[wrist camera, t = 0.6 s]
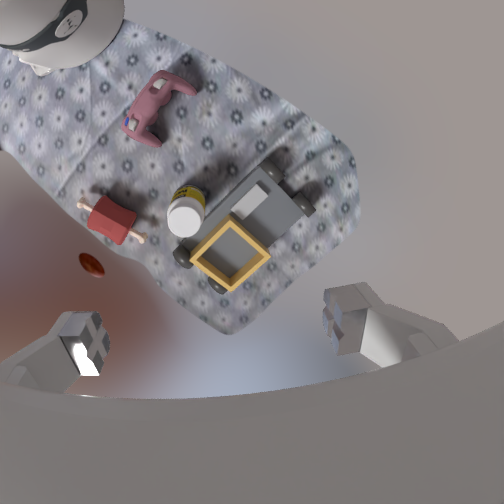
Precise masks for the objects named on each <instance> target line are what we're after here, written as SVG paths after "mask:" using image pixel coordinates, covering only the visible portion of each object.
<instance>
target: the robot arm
mask: <svg viewBox="0 0 504 504" xmlns="http://www.w3.org/2000/svg"><path fill="white" fill-rule="evenodd" d="M123 17H124V0H0V46H1V47H3V48H6V49H7V50H10V51H13V54H14V55H15V56H19V57H20V59H19V61H21V62H23V63H27V64H30V65H31V67H32V69H33V70H34V72H35V73H36V74H37V75H39V76H45V75H47V74H49V73H51V72H53V71H55V70H57V69H65V68H72V67H76V66H79V65H82V64H84V63H86V62H88V61H90V60H91V59H93V58H94V57H96V56H97V55H98V54H100V53H101V52H102V51H103V50H104V49H105V48H106V47H107V46H108V45H109V44H110V42H111V41H112V40H113V38H114V37H115V35H116V34H117V32H118V30H119V28H120V26H121V24H122V21H123ZM324 301H325V303H326V307H325V308H324V309H323V326H324V329H325V332H326V334H327V335H328V336H329V337H331V344H332V346H333V349H334V351H335V353H336V355H337V356H339V355H345V354H349V353H355V352H360V353H361V354H363V355H365V356H366V357H367V358H369V359H371V360H372V361H374V362H375V363H377V364H378V365H380V366H381V367H383V368H380V369H376V370H373V371H369V372H365V373H361V374H357V375H353V376H349V377H345V378H340V379H336V380H331V381H327V382H322V383H317V384H311V385H306V386H301V387H295V388H288V389H282V390H275V391H268V392H260V393H253V394H243V395H233V396H221V397H207V398H188V399H128V398H110V397H96V396H85V395H76V394H68V393H64V392H65V391H66V390H67V389H68V388H69V387H70V386H71V385H72V384H73V383H74V382H75V381H76V380H77V379H78V378H79V377H80V376H81V375H99V374H100V372H101V370H102V367H103V365H104V361H103V358H104V357H105V356H107V355H108V352H109V350H110V340H109V335H108V333H107V331H106V330H105V329H104V328H103V327H102V326H101V324H102V318H101V316H100V314H99V313H97V312H96V311H88V312H87V311H84V312H64V313H62V314H61V316H60V317H59V318H58V320H57V321H56V323H55V324H54V325H53V327H52V328H51V330H50V331H49V333H48V334H47V335H46V336H42V337H41V338H39V339H37V340H36V341H34V342H33V343H31V344H30V345H28V346H26V347H25V348H23V349H21V350H20V351H18V352H17V353H15V354H14V355H12V356H11V357H9V358H7V359H6V360H4V361H3V362H2V363H1V364H0V504H504V321H503V322H501V323H499V324H497V325H495V326H493V327H491V328H489V329H487V330H484V331H482V332H480V333H478V334H476V335H473V336H471V337H469V338H466V339H464V340H461V341H459V340H458V339H457V338H456V337H455V336H454V335H453V334H452V332H450V330H449V329H448V328H447V327H446V326H445V325H444V324H442V323H439V322H437V321H434V320H431V319H428V318H426V317H423V316H420V315H418V314H415V313H412V312H410V311H407V310H404V309H402V308H399V307H396V306H394V305H391V304H384V302H383V301H382V300H381V299H380V298H379V297H378V295H377V294H376V293H375V292H374V291H373V290H372V289H371V287H370V286H369V285H368V284H367V283H366V282H361V283H356V284H351V285H346V286H341V287H335V288H329V289H325V291H324Z"/></svg>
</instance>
